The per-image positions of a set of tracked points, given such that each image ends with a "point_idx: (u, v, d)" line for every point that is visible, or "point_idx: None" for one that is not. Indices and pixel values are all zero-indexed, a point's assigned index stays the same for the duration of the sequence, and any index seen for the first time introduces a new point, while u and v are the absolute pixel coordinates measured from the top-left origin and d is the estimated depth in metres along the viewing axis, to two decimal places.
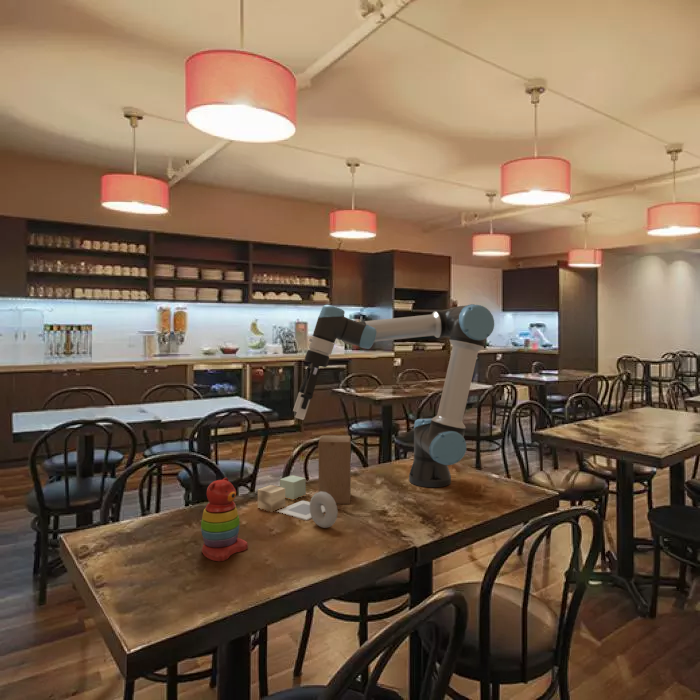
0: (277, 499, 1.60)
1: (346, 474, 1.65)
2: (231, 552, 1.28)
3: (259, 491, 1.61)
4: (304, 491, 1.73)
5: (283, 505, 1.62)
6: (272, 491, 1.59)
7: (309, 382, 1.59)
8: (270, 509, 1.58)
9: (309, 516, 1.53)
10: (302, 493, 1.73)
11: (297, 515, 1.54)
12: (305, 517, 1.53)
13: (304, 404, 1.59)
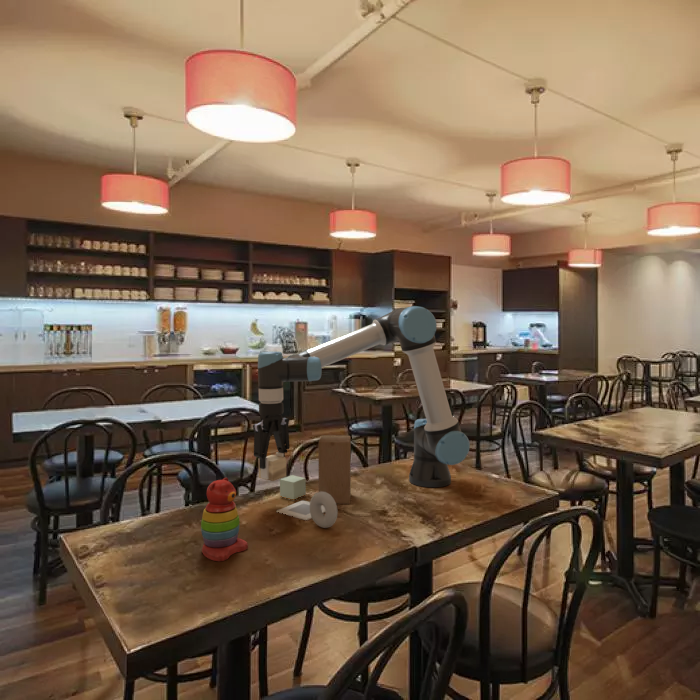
0: (278, 468, 1.60)
1: (346, 474, 1.65)
2: (231, 552, 1.28)
3: None
4: (304, 491, 1.73)
5: (284, 474, 1.62)
6: (273, 460, 1.59)
7: (254, 441, 1.57)
8: (271, 478, 1.58)
9: (309, 516, 1.53)
10: (302, 493, 1.73)
11: (297, 515, 1.54)
12: (305, 517, 1.53)
13: (260, 464, 1.58)
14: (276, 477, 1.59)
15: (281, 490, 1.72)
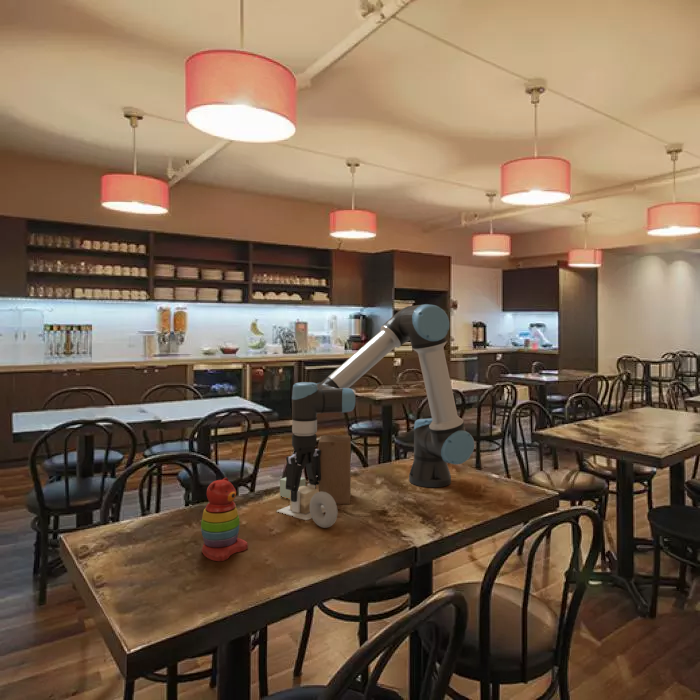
0: (310, 500, 1.57)
1: (346, 474, 1.65)
2: (231, 552, 1.28)
3: None
4: None
5: None
6: (305, 492, 1.57)
7: (287, 474, 1.54)
8: (303, 510, 1.56)
9: (309, 516, 1.53)
10: None
11: (297, 515, 1.54)
12: (305, 517, 1.53)
13: (292, 497, 1.55)
14: (308, 510, 1.57)
15: (281, 490, 1.72)
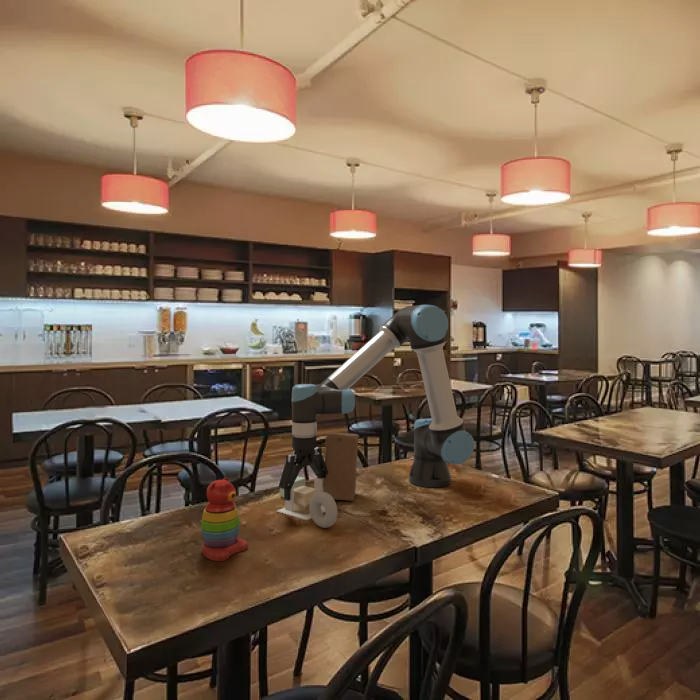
0: (310, 500, 1.57)
1: (351, 470, 1.67)
2: (231, 552, 1.28)
3: None
4: None
5: None
6: (305, 492, 1.57)
7: (283, 472, 1.53)
8: (303, 510, 1.56)
9: (309, 516, 1.53)
10: None
11: (297, 515, 1.54)
12: (305, 517, 1.53)
13: (285, 495, 1.53)
14: (308, 510, 1.57)
15: (281, 490, 1.72)
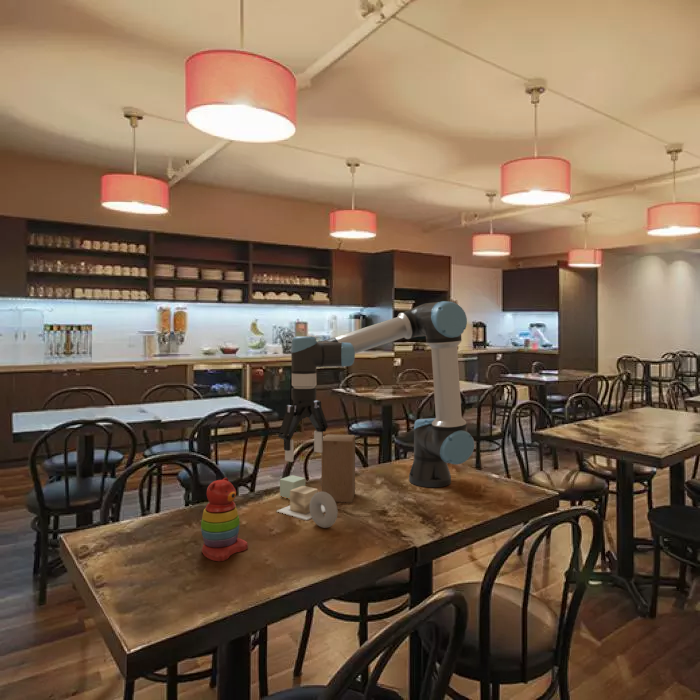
0: (310, 500, 1.57)
1: (348, 473, 1.66)
2: (231, 552, 1.28)
3: (291, 492, 1.58)
4: None
5: None
6: (305, 492, 1.57)
7: (283, 422, 1.52)
8: (303, 510, 1.56)
9: (309, 516, 1.53)
10: None
11: (297, 515, 1.54)
12: (305, 517, 1.53)
13: (285, 445, 1.52)
14: (308, 510, 1.57)
15: (281, 490, 1.72)
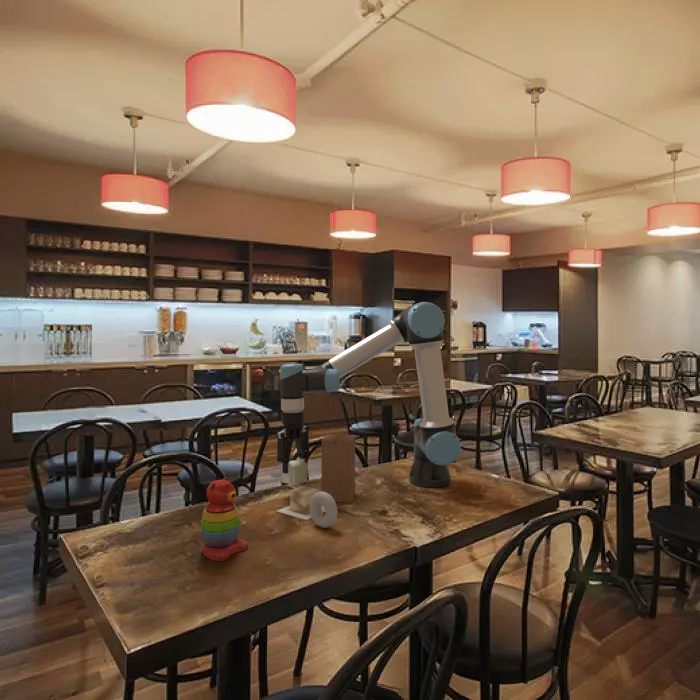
0: (310, 500, 1.57)
1: (348, 473, 1.66)
2: (231, 552, 1.28)
3: (291, 492, 1.58)
4: (305, 475, 1.73)
5: None
6: (305, 492, 1.57)
7: (278, 448, 1.68)
8: (303, 510, 1.56)
9: (309, 516, 1.53)
10: (304, 477, 1.72)
11: (297, 515, 1.54)
12: (305, 517, 1.53)
13: (283, 469, 1.69)
14: (308, 510, 1.57)
15: (282, 475, 1.72)
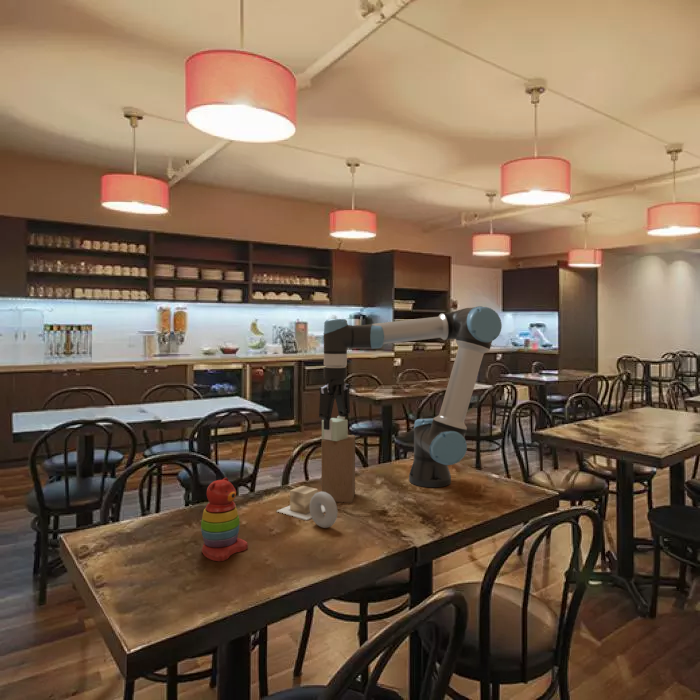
0: (310, 500, 1.57)
1: (348, 473, 1.66)
2: (231, 552, 1.28)
3: (291, 492, 1.58)
4: (346, 433, 1.70)
5: None
6: (305, 492, 1.57)
7: (320, 403, 1.64)
8: (303, 510, 1.56)
9: (309, 516, 1.53)
10: (344, 435, 1.69)
11: (297, 515, 1.54)
12: (305, 517, 1.53)
13: (325, 425, 1.65)
14: (308, 510, 1.57)
15: (323, 431, 1.68)
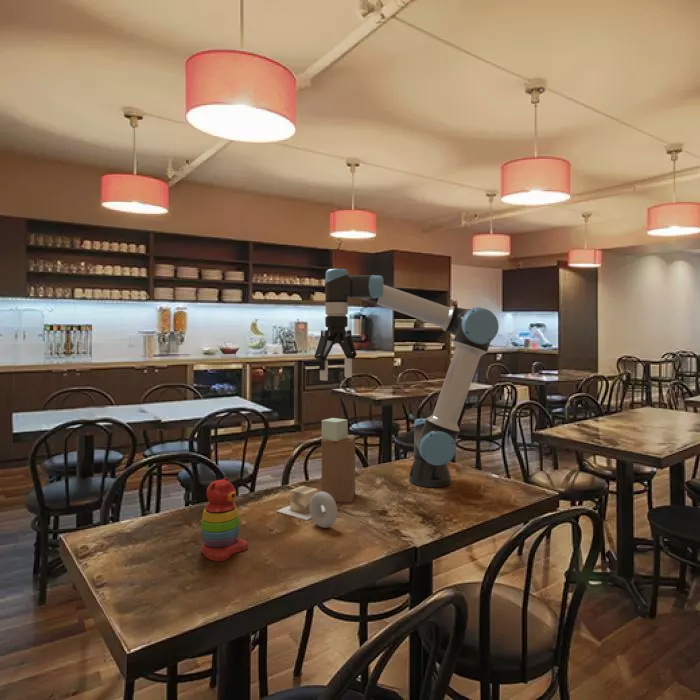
0: (310, 500, 1.57)
1: (348, 473, 1.66)
2: (231, 552, 1.28)
3: (291, 492, 1.58)
4: (346, 433, 1.70)
5: None
6: (305, 492, 1.57)
7: (319, 344, 1.69)
8: (303, 510, 1.56)
9: (309, 516, 1.53)
10: (344, 434, 1.69)
11: (297, 515, 1.54)
12: (305, 517, 1.53)
13: (320, 365, 1.69)
14: (308, 510, 1.57)
15: (323, 431, 1.68)
